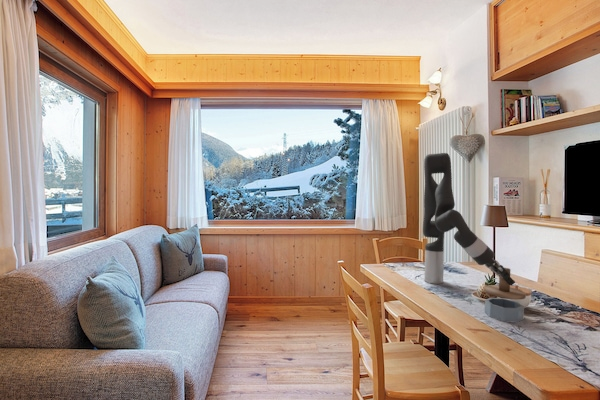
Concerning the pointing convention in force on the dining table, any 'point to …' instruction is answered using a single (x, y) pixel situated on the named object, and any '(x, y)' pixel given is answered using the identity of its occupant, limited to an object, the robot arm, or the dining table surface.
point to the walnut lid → (504, 290)
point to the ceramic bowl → (504, 309)
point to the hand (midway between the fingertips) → (510, 282)
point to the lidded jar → (527, 300)
